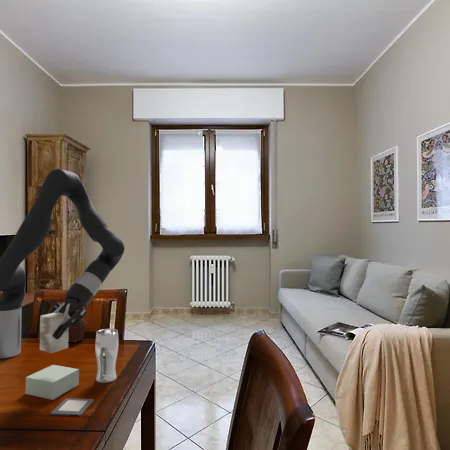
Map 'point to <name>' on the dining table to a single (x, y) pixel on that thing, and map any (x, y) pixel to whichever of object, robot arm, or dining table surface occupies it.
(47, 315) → the ivory block
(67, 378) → the sage base block
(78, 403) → the tile
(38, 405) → the dining table surface
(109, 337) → the beer glass
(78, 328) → the muffin
